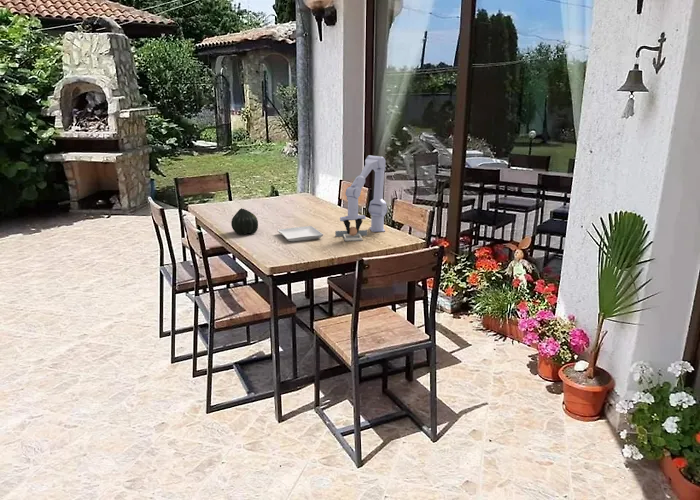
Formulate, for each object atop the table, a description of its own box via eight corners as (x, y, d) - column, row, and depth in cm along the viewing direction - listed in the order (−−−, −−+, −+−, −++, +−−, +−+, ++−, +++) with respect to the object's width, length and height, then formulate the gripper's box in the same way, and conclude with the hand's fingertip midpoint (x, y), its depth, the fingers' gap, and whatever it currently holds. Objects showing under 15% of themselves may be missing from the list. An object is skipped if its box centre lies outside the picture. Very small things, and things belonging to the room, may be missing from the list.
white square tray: (342, 236, 303) (342, 233, 303) (360, 236, 304) (360, 233, 304) (344, 241, 294) (344, 238, 293) (362, 240, 295) (362, 238, 294)
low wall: (335, 236, 304) (335, 230, 303) (366, 235, 306) (366, 230, 305) (335, 236, 303) (335, 231, 302) (367, 235, 305) (367, 230, 304)
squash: (258, 227, 299) (256, 204, 305) (230, 229, 297) (229, 206, 303) (259, 239, 312) (257, 216, 318) (233, 241, 310) (232, 218, 316)
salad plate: (287, 244, 289) (287, 238, 288) (276, 234, 307) (276, 228, 306) (324, 240, 297) (324, 234, 296) (311, 231, 316) (311, 225, 315)
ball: (346, 234, 300) (346, 226, 298) (355, 234, 302) (355, 225, 300) (350, 237, 295) (350, 228, 294) (358, 236, 297) (358, 227, 296)
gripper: (362, 206, 300) (361, 229, 304) (337, 208, 295) (337, 232, 299) (367, 208, 294) (366, 232, 298) (342, 210, 289) (342, 235, 293)
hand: (352, 232), depth 298 cm, fingers closed on ball, 5 cm apart
